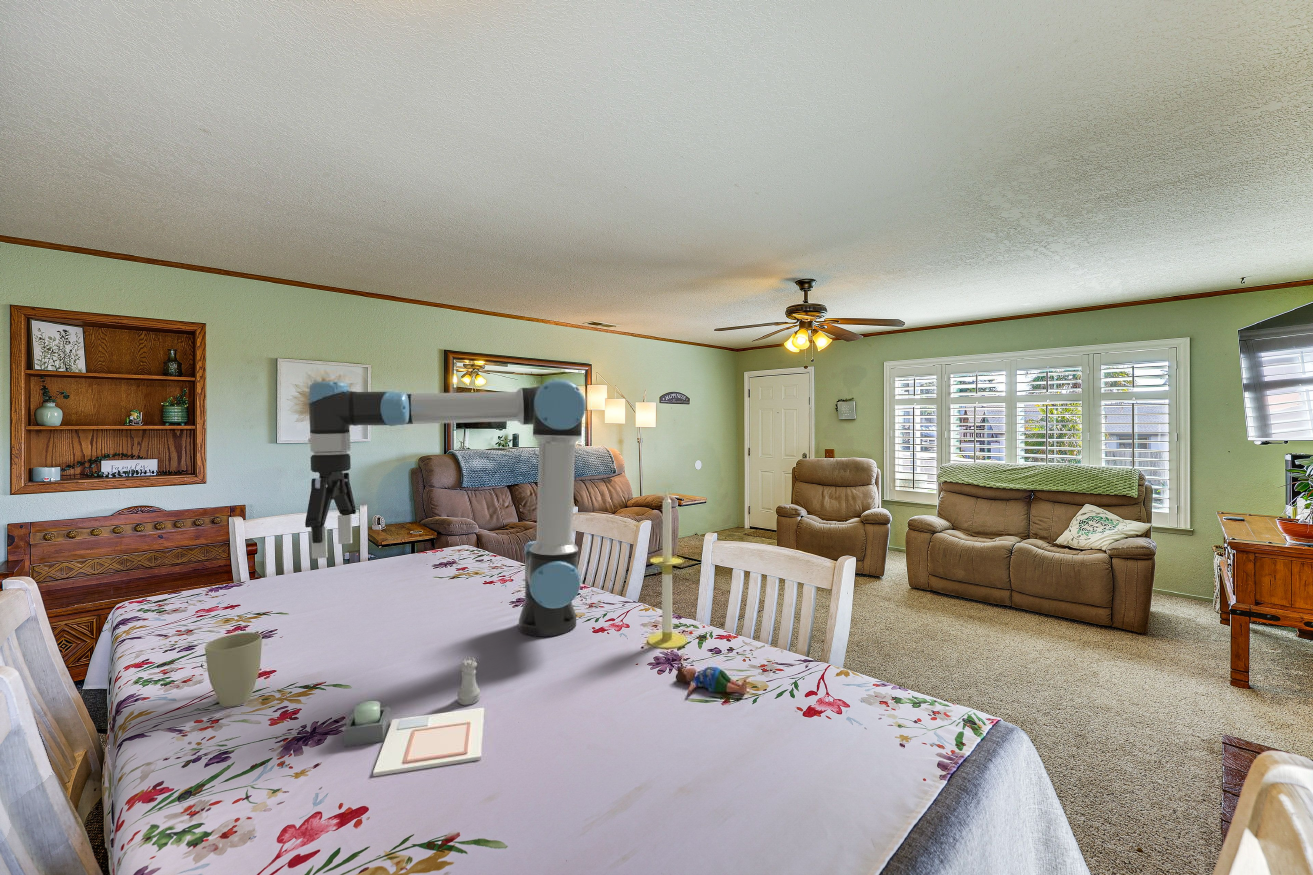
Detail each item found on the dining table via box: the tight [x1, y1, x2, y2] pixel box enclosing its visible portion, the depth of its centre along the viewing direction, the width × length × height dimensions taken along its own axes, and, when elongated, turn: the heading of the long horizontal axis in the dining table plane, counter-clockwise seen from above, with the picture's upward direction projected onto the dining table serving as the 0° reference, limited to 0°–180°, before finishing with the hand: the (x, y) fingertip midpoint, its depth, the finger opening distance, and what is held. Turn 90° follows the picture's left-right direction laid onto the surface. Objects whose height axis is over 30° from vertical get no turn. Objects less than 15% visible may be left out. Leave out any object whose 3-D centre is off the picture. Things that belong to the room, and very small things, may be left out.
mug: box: [204, 631, 263, 708], centre depth 112 cm, size 11×10×12 cm
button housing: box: [343, 706, 391, 747], centre depth 99 cm, size 6×6×3 cm
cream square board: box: [372, 707, 485, 777], centre depth 97 cm, size 16×16×1 cm
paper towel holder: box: [646, 492, 688, 650], centre depth 140 cm, size 10×10×38 cm
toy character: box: [675, 665, 748, 696], centre depth 116 cm, size 12×5×15 cm
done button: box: [353, 700, 381, 726], centre depth 99 cm, size 4×4×4 cm
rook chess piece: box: [456, 657, 482, 706], centre depth 111 cm, size 4×4×8 cm
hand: (333, 550), depth 123 cm, fingers open, 13 cm apart
